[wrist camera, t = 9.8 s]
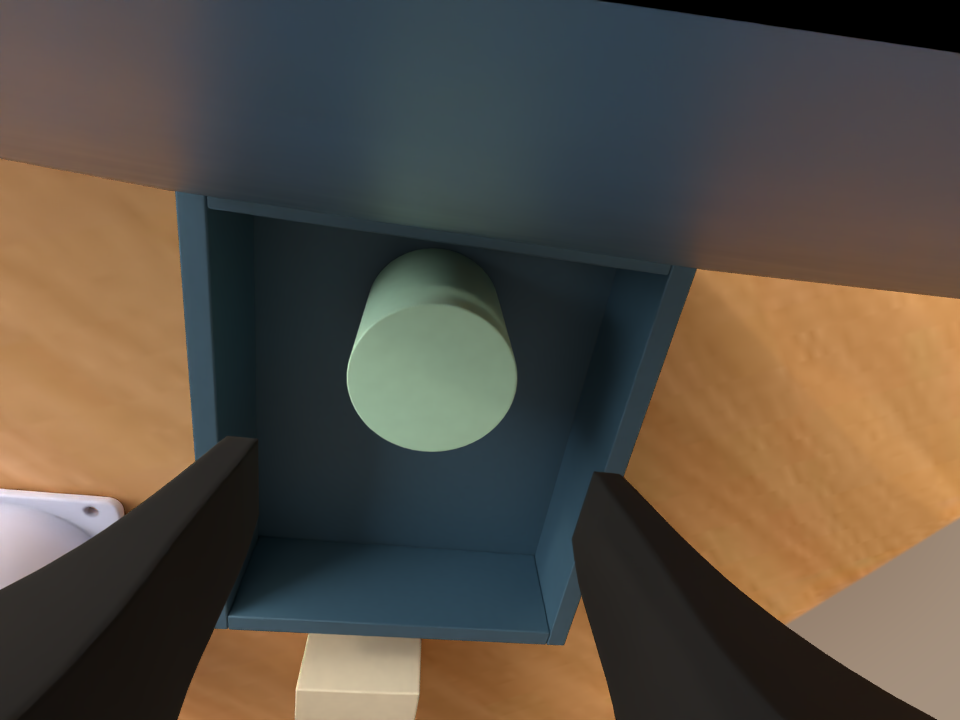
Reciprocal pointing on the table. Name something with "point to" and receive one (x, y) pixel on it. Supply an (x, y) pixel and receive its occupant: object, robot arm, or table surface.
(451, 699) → the table surface
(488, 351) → the mint green cylinder
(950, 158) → the lunchbox lid
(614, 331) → the box
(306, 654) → the cream block
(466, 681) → the table surface
